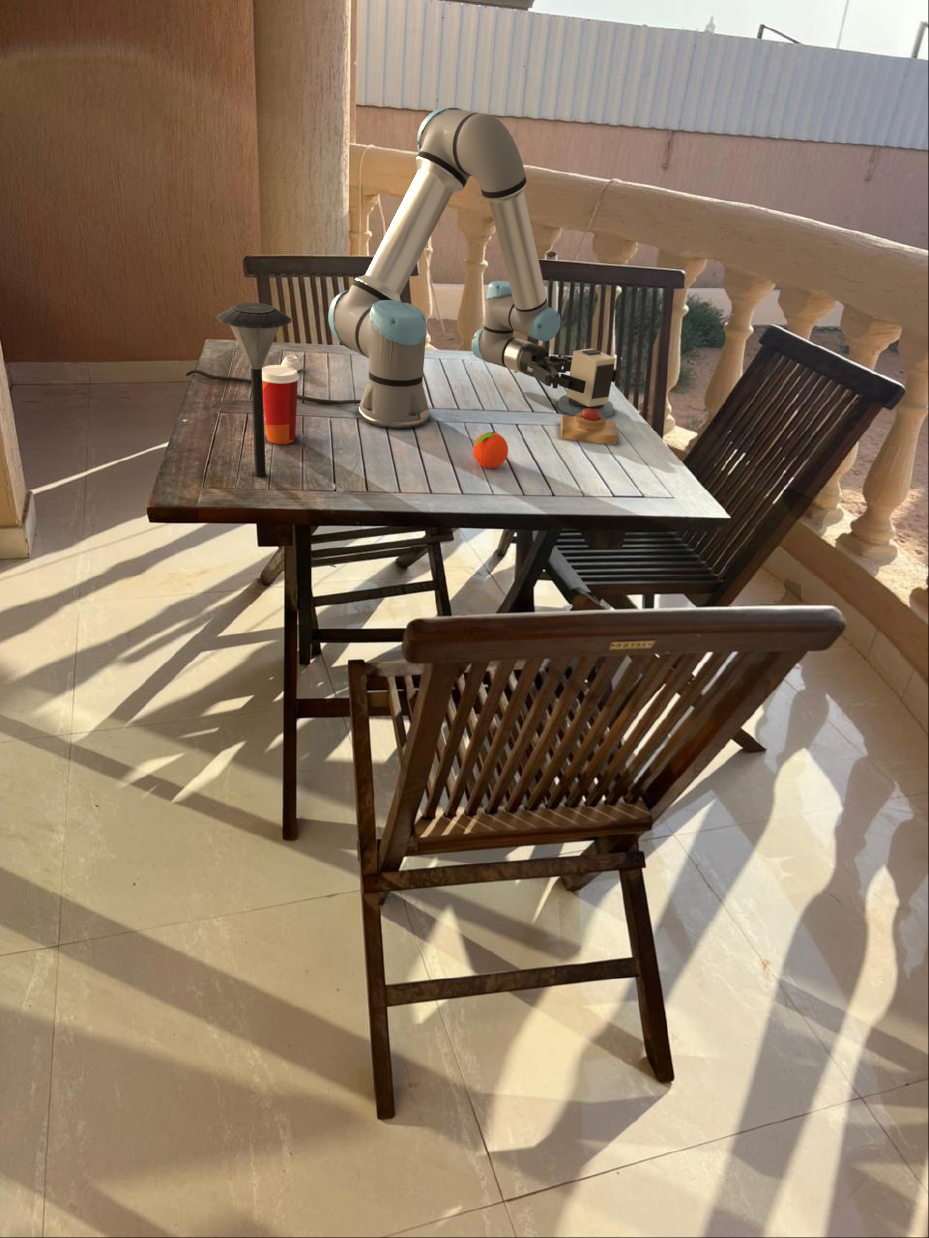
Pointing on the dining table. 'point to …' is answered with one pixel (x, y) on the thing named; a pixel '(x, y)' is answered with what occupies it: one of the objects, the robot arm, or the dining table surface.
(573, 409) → the swivel base
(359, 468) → the dining table surface
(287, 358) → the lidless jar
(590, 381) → the panel
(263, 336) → the solar garden light
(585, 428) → the button block
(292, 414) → the paper cup
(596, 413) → the button
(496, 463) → the clementine
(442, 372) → the dining table surface
